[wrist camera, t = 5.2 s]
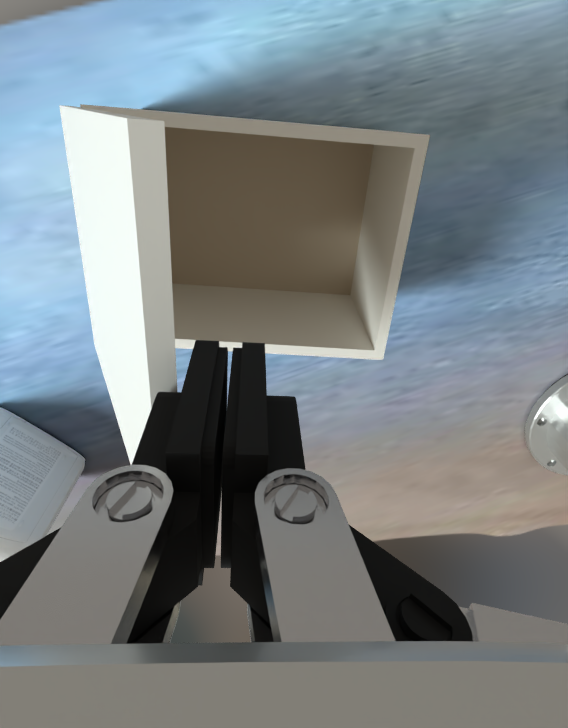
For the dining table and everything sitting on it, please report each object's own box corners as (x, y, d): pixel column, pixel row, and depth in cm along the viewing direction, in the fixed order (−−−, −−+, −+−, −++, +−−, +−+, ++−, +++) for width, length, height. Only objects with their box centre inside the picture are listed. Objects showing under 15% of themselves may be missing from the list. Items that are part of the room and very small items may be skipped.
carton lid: (163, 121, 7) (127, 118, 7) (186, 573, 13) (165, 581, 13) (74, 106, 20) (59, 105, 19) (106, 344, 25) (94, 345, 25)
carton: (383, 130, 29) (430, 134, 21) (355, 300, 35) (382, 359, 26) (139, 109, 28) (80, 104, 20) (152, 286, 34) (110, 344, 25)
